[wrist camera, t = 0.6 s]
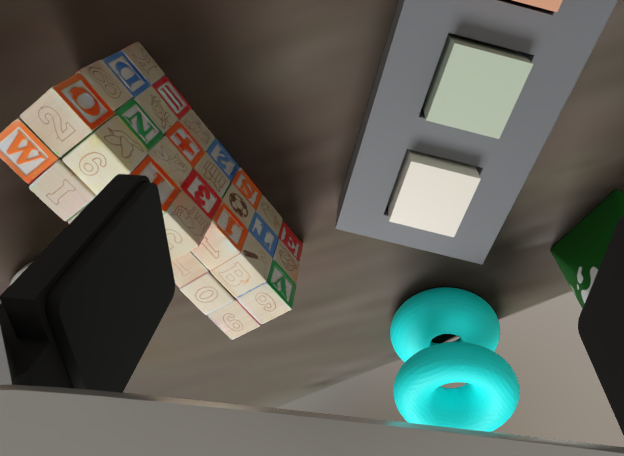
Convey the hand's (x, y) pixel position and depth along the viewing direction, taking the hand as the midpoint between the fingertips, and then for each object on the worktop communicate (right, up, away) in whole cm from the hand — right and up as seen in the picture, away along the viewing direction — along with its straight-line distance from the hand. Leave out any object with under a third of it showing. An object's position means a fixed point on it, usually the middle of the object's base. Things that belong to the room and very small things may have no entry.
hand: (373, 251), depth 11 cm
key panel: (+10, +12, +26) cm, 30 cm away
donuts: (+11, -9, +38) cm, 41 cm away
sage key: (+9, +11, +24) cm, 28 cm away
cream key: (+8, +4, +28) cm, 29 cm away
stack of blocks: (-11, +5, +32) cm, 35 cm away
